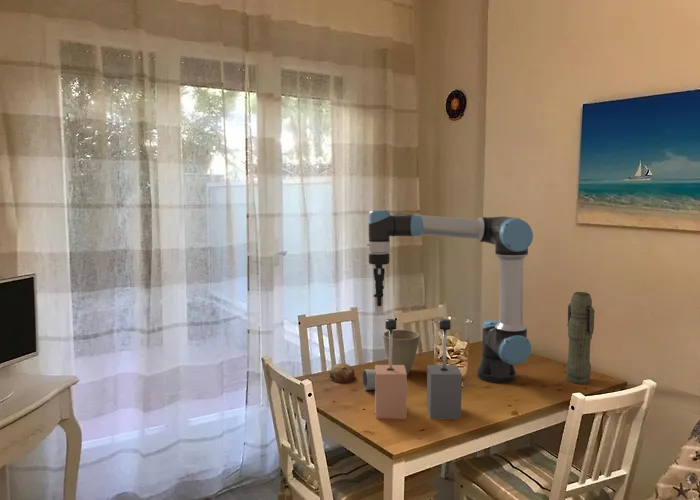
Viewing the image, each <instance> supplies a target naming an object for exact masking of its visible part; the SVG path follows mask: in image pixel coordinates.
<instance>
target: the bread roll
mask: <svg viewBox="0 0 700 500" xmlns="http://www.w3.org/2000/svg"><path fill="white" fill-rule="evenodd" d="M355 375H356V374H355V371H354V369H353V367H352V366H351V365H350V364H347V363H345V362H344V363H343V362H342V363H341V362H340V363H336V364H333V365H332V367H331V368H330V370H329V378H330V379H329V380H330V381H333V382H335V383H336V382H337V383H348V382H351V381H353V380H354V378H355Z"/></svg>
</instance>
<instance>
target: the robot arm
mask: <svg viewBox="0 0 700 500" xmlns="http://www.w3.org/2000/svg"><path fill="white" fill-rule="evenodd" d="M418 236H433V237H435V236H436V237H444V238H445V237H449V238H459V239H475V241H477V242H480V243H481V242H482V243H486V244H490V245H494V246H495V247H494V248H495V249H494V251H495V252H494V253H495V256H496V257H498V260H499V263H498V265H499V272H498V273H499V274H498V276H499V277H498V279H499V284H498V285H499V286H498V293H499V294H498V298H499V299H498V319H488V320H485V321H484V322H483V325H482V352H481V355H482V356H481V359H480V363H479V365H478V367H477V377H478V378H479V379H480V380H483V381H486V382H489V383H490V382H491V383H496V384H498V383H499V384H501V383H502V384H504V383H511V382H514V381H516V380H517V371H516V368H515V365H516V366H517V365H520V364H523V363H524V362H525V361H526V360H527V359H529V358H530V355H531V353H532V344H531V342H530V340H529V339H528V328H527V325H526V324H525V323H524V318H523V317H524V315H523V314H524V259H525V258H526V257H527V256H529V247H530V245H531V244H532V242H533V240H534V233H533V229H532V227H531V225H530V224H529V223H528V222H527V221H526V220H523V219H521V218H518V217H511V216H494V217H493V216H489V217H487V216H486V217H485V216H479V217H478V218H477V219H476V218H463V217H451V216H450V217H449V216H438V215H437V216H436V215H424V214H423V215H422V214H410V213H401V212H397V213H394V214H392V215H391V211H390V210H388V209H372V210H370V211H369V214H368V243H367V244H366V246H367V247H368V252H369V253H368V264H369V265H374V267H375V268H373V275H374V276H373V277H374V281H375V282H374V286H375V287H374V288H375V290H374V294H373V297H374V307H375V308H374V309H375V310H374V311H375V313H374V314H375V316H384V289H385V286H384V280H385V271H386V270H385V268H383V266H384V265H389V264H390V253H389V252H390V251H391V250H390V249H391V248H390V247H391V246H390V245H391V243H390V242H391V241H390V237H418Z"/></svg>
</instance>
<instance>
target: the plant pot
mask: <svg viewBox="0 0 700 500" xmlns="http://www.w3.org/2000/svg"><path fill="white" fill-rule="evenodd" d="M382 336H383V337H382V339H383V344H384V349H385V354H386V358H387V362H388V363H389V330H386V331H384V332H383V333H382ZM419 340H420V333H419V332H417V331H413V330H410V329H409V330H407V329H395V330H393V352H392V365H404V366H405V370H406V373H407V375H408V374H410V372H411V371H412V370H411V369H413V368H412V367H413V364H414V361H415V360H416V359H415V358H416V355H417V351H418V347H419Z"/></svg>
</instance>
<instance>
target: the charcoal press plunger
mask: <svg viewBox="0 0 700 500" xmlns="http://www.w3.org/2000/svg"><path fill="white" fill-rule="evenodd" d="M451 322H452V321H451V319H448V318H447V319H446V318H442V319H439V330H442V364H441V365H442V371H446V365H447V345H448V344H447V339H448V338H447V333H448V332H447V331H449V330H451V326H452V325H451Z"/></svg>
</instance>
